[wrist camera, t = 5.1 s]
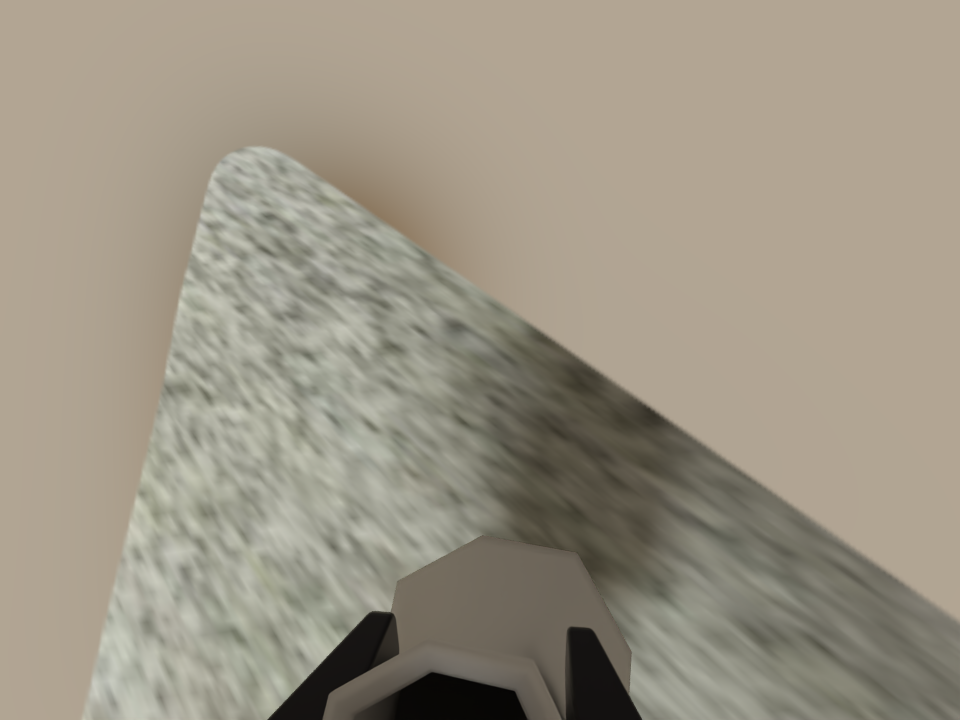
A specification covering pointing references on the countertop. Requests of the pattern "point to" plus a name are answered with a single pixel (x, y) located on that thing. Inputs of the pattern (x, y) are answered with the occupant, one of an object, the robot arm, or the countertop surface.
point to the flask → (484, 638)
